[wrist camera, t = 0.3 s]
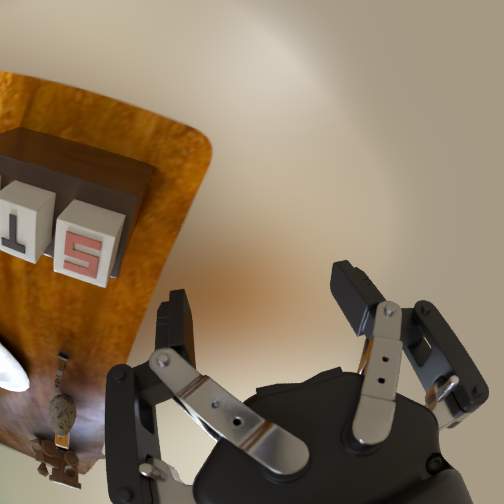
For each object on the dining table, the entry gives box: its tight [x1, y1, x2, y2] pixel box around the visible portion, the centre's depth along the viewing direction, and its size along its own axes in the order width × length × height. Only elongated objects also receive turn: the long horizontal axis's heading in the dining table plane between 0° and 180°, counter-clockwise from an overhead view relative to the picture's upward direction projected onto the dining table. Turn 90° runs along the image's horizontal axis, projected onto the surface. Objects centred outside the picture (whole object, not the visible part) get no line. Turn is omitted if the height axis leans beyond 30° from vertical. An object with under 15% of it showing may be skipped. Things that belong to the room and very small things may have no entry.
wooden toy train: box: [31, 439, 81, 489], centre depth 53 cm, size 20×11×17 cm, turn 24°
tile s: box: [54, 199, 126, 288], centre depth 15 cm, size 4×4×3 cm
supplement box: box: [55, 432, 70, 449], centre depth 40 cm, size 3×3×10 cm
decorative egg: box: [50, 394, 76, 437], centre depth 36 cm, size 6×6×10 cm
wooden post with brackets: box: [54, 350, 69, 390], centre depth 33 cm, size 2×8×4 cm, turn 143°
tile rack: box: [0, 127, 154, 278], centre depth 18 cm, size 7×16×8 cm, turn 64°
